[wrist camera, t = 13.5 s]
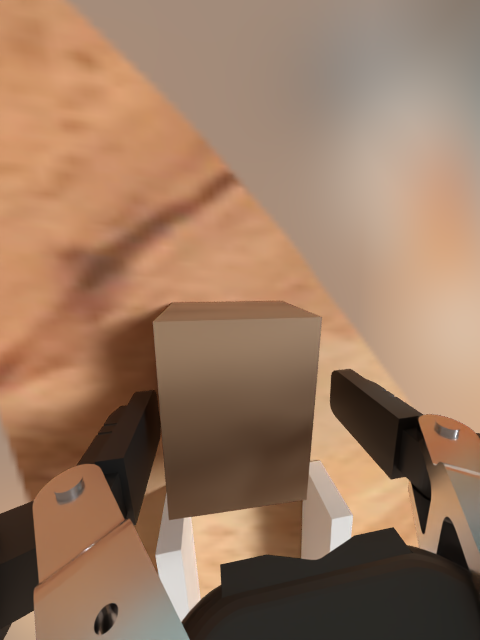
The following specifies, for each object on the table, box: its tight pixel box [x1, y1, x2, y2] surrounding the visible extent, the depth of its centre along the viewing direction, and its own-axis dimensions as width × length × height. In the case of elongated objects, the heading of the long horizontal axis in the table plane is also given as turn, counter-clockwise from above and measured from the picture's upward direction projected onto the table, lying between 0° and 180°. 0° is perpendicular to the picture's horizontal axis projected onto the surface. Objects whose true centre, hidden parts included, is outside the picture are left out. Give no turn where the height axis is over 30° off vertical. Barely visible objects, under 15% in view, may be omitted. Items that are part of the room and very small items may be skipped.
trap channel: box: [155, 460, 353, 622], centre depth 13 cm, size 20×8×3 cm, turn 3°
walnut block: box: [153, 301, 322, 520], centre depth 9 cm, size 7×5×4 cm
